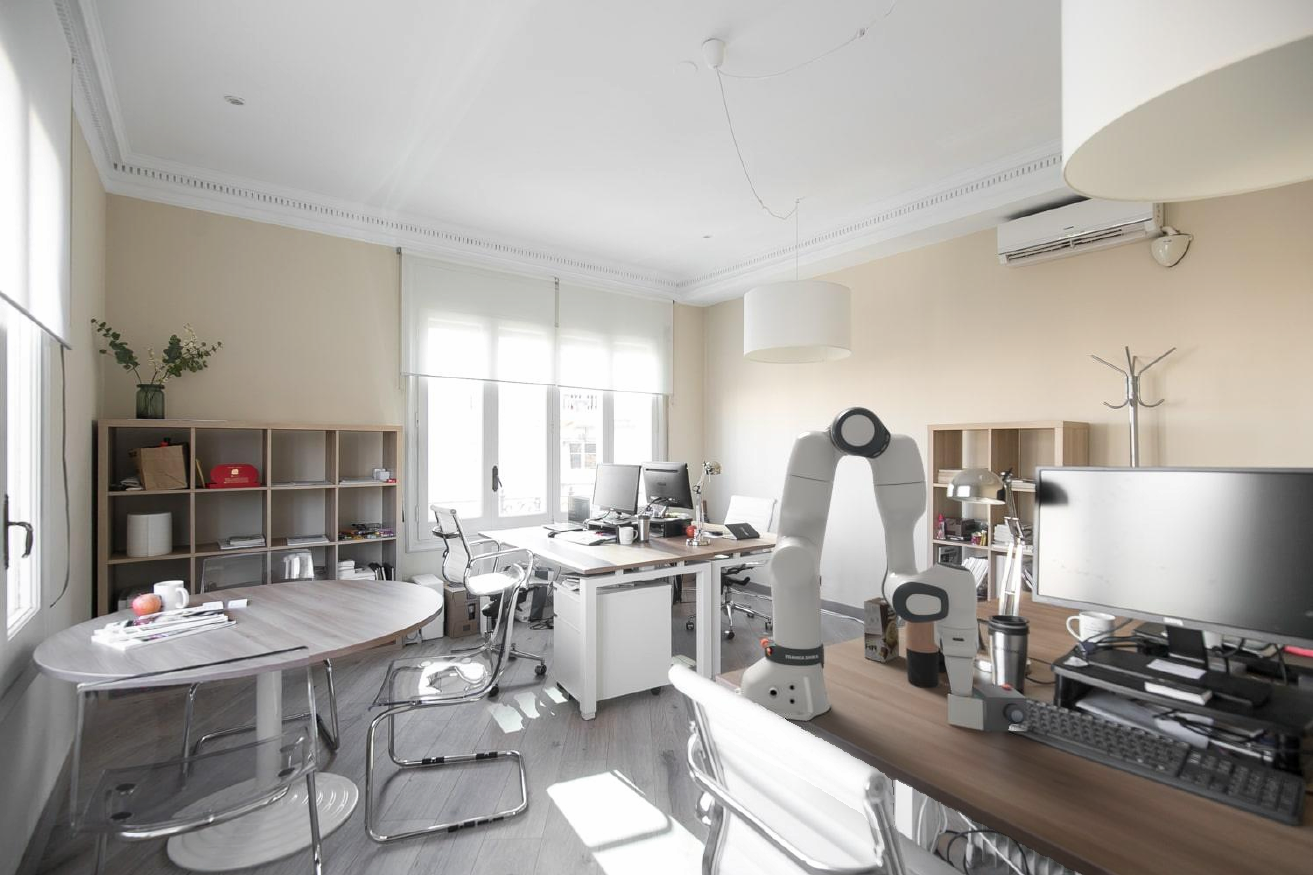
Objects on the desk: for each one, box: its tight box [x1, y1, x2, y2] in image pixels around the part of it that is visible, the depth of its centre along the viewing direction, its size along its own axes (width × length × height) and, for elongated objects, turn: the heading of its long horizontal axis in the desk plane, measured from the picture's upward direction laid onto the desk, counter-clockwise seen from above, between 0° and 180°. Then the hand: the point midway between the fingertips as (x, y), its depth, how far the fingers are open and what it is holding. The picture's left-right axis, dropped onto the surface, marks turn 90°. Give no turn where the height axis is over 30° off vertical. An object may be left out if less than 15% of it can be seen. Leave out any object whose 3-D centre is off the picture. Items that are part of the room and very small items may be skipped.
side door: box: [947, 693, 988, 732], centre depth 128 cm, size 1×7×6 cm, turn 57°
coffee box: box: [863, 596, 900, 663], centre depth 174 cm, size 9×6×16 cm
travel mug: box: [905, 620, 940, 689], centre depth 154 cm, size 8×8×20 cm
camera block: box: [971, 684, 1028, 733], centre depth 128 cm, size 8×9×8 cm
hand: (957, 701), depth 132 cm, fingers open, 4 cm apart
